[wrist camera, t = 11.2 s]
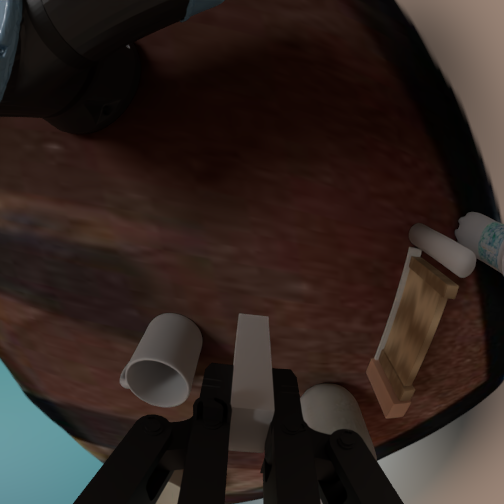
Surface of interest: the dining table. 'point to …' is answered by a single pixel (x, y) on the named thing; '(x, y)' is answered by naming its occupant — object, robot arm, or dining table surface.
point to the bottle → (483, 238)
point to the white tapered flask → (334, 411)
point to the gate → (415, 324)
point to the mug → (164, 361)
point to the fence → (439, 249)
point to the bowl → (171, 489)
